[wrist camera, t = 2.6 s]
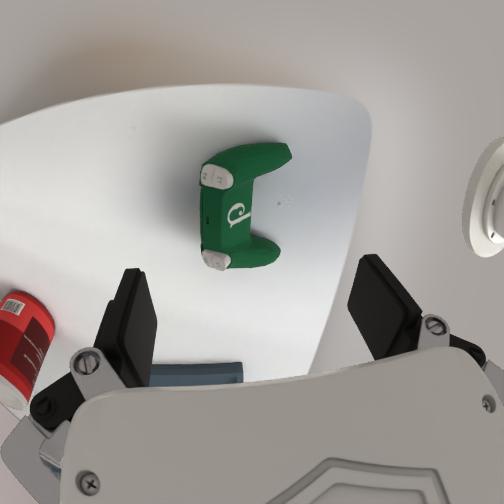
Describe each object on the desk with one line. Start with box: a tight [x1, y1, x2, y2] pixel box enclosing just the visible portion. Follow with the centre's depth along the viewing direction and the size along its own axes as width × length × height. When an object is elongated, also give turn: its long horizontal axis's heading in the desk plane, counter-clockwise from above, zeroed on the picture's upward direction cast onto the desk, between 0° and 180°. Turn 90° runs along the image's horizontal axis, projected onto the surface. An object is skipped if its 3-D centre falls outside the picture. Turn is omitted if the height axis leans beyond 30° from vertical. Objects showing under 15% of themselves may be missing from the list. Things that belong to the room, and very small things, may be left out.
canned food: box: [0, 291, 55, 411], centre depth 19 cm, size 8×8×11 cm
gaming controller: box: [199, 143, 292, 271], centre depth 19 cm, size 9×4×6 cm
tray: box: [149, 363, 243, 387], centre depth 33 cm, size 20×17×2 cm
